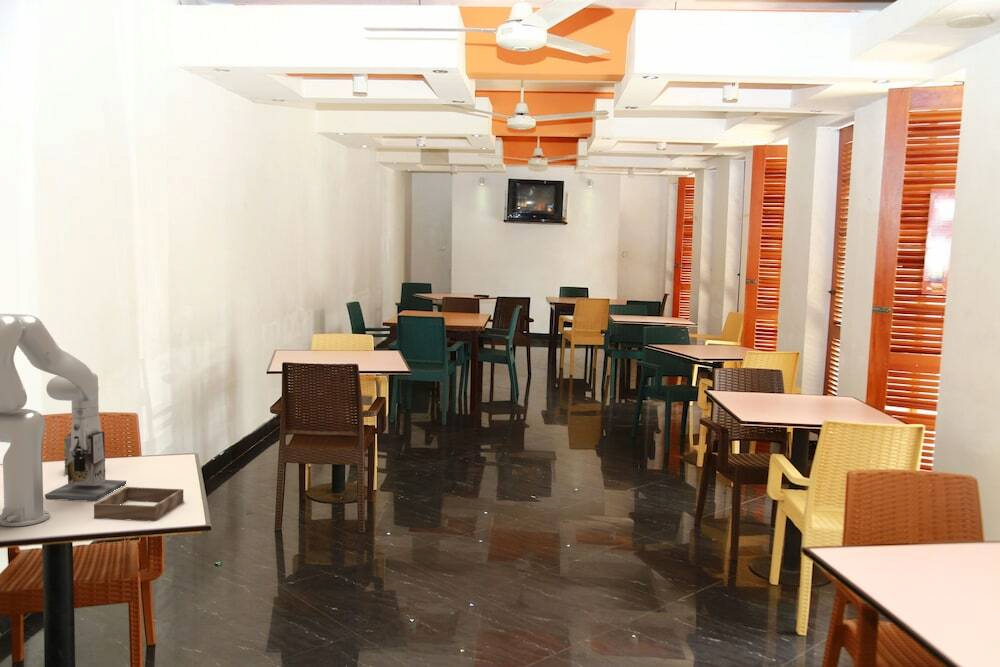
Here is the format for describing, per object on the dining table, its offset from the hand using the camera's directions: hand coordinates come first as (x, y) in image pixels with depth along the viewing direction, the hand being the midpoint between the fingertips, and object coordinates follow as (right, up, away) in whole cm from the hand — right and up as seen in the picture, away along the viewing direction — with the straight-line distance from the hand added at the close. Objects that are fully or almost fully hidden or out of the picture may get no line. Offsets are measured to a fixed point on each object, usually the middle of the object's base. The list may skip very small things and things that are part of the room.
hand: (86, 467), depth 254 cm
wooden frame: (+24, -10, -15) cm, 30 cm away
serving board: (0, -8, +1) cm, 8 cm away
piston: (-13, -6, +23) cm, 27 cm away
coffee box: (0, -5, 0) cm, 5 cm away
